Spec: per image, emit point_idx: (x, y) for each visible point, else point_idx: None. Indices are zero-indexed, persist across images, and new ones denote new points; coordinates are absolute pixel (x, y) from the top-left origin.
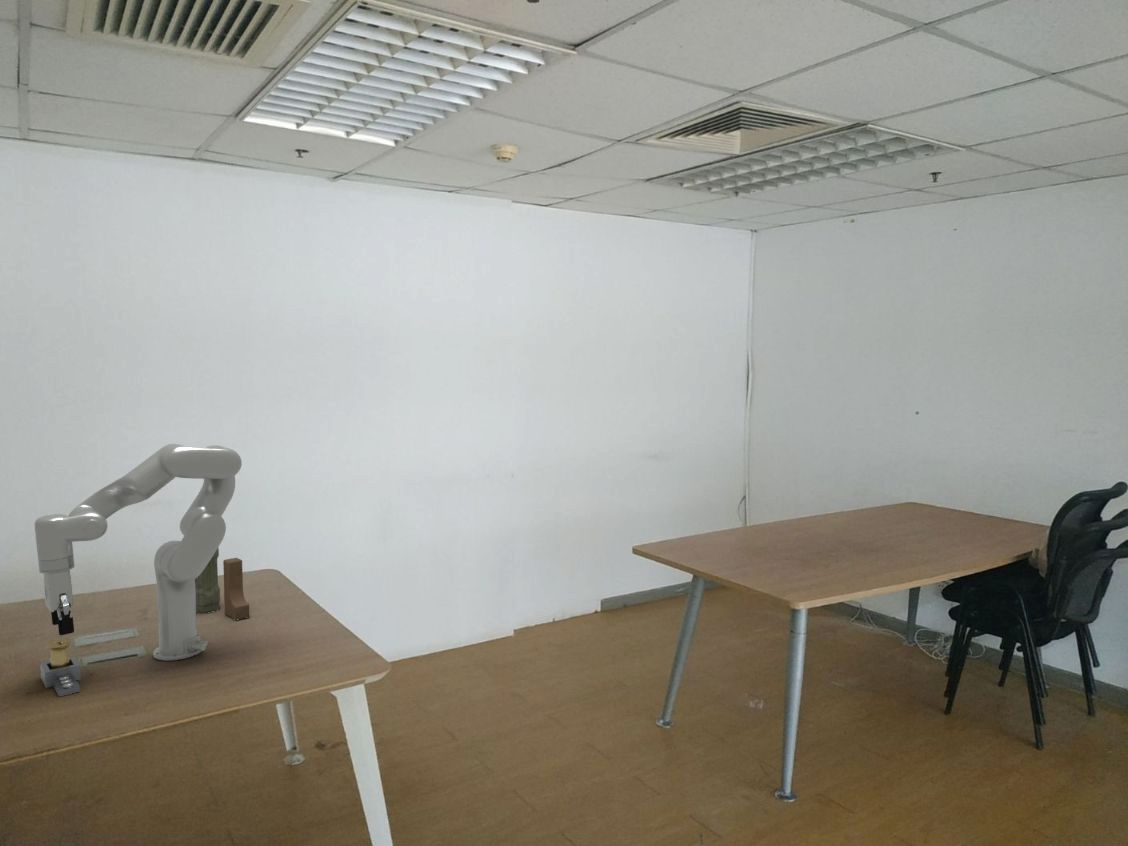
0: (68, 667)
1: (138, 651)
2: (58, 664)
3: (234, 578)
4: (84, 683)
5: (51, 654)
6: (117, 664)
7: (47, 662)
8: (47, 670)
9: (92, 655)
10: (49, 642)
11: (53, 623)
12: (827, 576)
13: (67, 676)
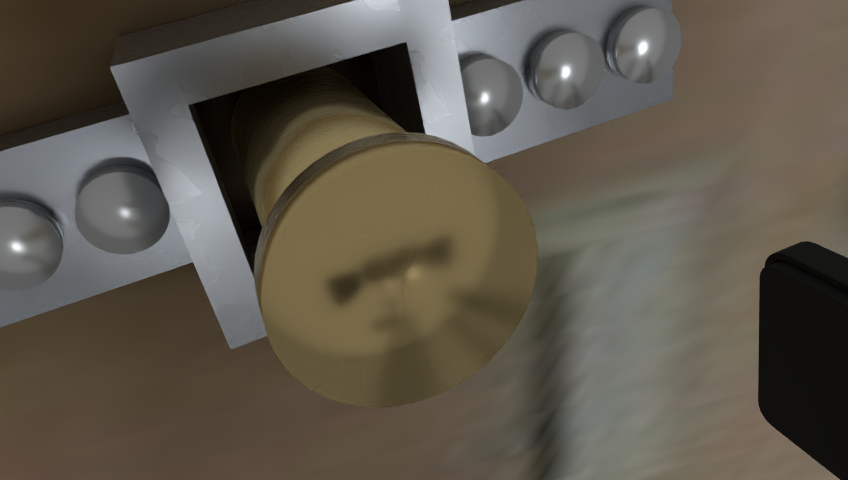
0: (199, 265)
1: (593, 473)
2: (253, 184)
3: None
4: (130, 317)
5: (307, 154)
6: (435, 426)
7: (441, 45)
8: (182, 82)
9: (680, 249)
10: (433, 170)
11: (785, 273)
12: None
13: (126, 240)
